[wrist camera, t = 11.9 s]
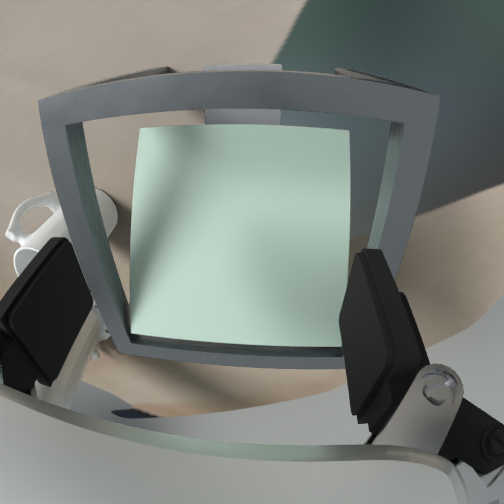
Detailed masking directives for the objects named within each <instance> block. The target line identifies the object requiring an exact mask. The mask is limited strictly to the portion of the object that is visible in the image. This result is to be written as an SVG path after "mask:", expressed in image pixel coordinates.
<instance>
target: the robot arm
mask: <svg viewBox="0 0 504 504" xmlns="http://www.w3.org/2000/svg"><path fill="white" fill-rule="evenodd" d="M339 328H340V334H341V341H342V347H343V354H344V361H345V368H346V375H347V382H348V390H349V398H350V406H351V413H352V415H357V420H358V424H365V423H368V426H369V431H370V432H371V435H370V436H369V437H368V439H367V440H366V442H365V443H364V444H363V445H324V446H323V445H321V446H320V445H319V446H293V445H291V446H290V445H264V444H263V445H262V444H245V443H233V442H221V441H212V440H204V439H196V438H190V437H183V436H177V435H171V434H165V433H159V432H154V431H149V430H144V429H139V428H135V427H130V426H126V425H122V424H117V423H114V422H110V421H106V420H102V419H99V418H95V417H91V416H88V415H84V414H81V413H78V412H75V411H72V410H69V409H70V406H71V403H72V401H73V398H74V396H75V393H76V391H77V388H78V386H79V383H80V381H81V378H82V376H83V374H84V371H85V369H86V367H87V364H88V362H89V361H90V360H91V359H92V356H93V358H94V359H98V358H99V357H100V354H99V352H98V350H97V347H98V344H99V342H100V341H103V340H106V339H108V338H109V337H110V336H111V335H110V333H109V331H108V329H107V327H106V325H105V323H104V321H103V318H102V316H101V314H100V312H99V310H98V307H97V305H96V303H95V300H94V298H93V296H92V293H91V292H90V290H89V287H88V285H87V283H86V280H85V278H84V275H83V272H82V270H81V267H80V265H79V262H78V259H77V256H76V254H75V251H74V248H73V245H72V243H71V242H69V240H68V239H67V238H65V237H52V238H50V239H49V240H48V241H47V243H46V244H45V245H44V246H43V247H42V248H41V250H40V251H39V252H38V253H37V254H36V256H35V257H34V258H33V259H32V260H31V262H30V263H29V264H28V265H27V266H26V268H25V269H24V270H23V272H22V273H21V274H20V275H19V277H18V278H17V279H16V281H15V282H14V283H13V284H12V286H11V287H10V288H9V290H8V291H7V292H6V294H5V295H4V297H3V298H2V299H1V301H0V504H504V425H503V424H502V423H500V422H499V421H497V420H496V419H494V418H493V417H491V416H490V415H488V414H487V413H486V412H484V411H483V410H481V409H480V408H478V407H477V406H475V405H474V404H472V403H471V402H469V401H468V400H466V399H465V398H463V393H464V390H463V384H462V382H461V379H460V377H459V376H458V375H457V373H456V372H455V371H454V370H452V369H451V368H450V367H448V366H445V365H442V364H430V362H429V359H428V356H427V353H426V351H425V347H424V344H423V341H422V338H421V335H420V333H419V330H418V327H417V324H416V322H415V319H414V316H413V313H412V311H411V308H410V306H409V303H408V301H407V298H406V296H405V294H404V293H402V292H399V291H398V288H397V286H396V283H395V281H394V278H393V276H392V273H391V271H390V268H389V266H388V264H387V261H386V259H385V257H384V254H383V252H382V250H380V249H365V248H364V249H362V251H361V253H356V254H355V257H354V261H353V265H352V269H351V273H350V277H349V281H348V285H347V289H346V292H345V296H344V300H343V303H342V307H341V310H340V314H339Z"/></svg>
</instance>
